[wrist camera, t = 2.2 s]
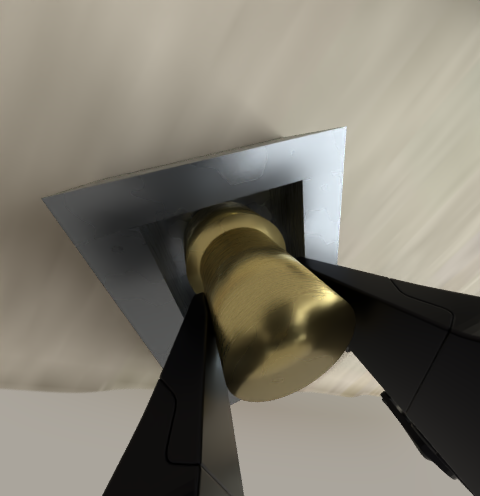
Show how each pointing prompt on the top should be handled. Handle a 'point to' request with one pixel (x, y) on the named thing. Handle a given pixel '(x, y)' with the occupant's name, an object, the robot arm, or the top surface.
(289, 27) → the top surface
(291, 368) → the brass cap
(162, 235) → the housing
